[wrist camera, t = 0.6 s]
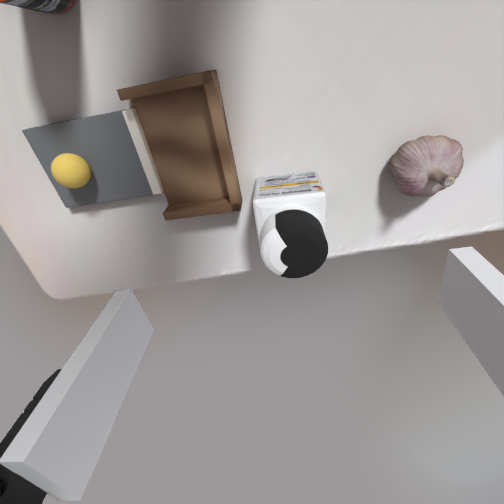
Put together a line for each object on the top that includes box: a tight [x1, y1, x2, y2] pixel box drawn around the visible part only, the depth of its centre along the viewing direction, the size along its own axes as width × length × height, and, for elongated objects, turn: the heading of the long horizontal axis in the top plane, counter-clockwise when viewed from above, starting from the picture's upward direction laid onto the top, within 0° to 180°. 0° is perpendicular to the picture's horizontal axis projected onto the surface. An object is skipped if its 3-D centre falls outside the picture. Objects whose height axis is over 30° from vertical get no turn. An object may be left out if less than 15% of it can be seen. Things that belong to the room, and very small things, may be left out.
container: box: [253, 171, 328, 278], centre depth 32 cm, size 8×8×13 cm
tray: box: [117, 70, 242, 220], centre depth 33 cm, size 15×10×3 cm, turn 10°
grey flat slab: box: [22, 108, 164, 208], centre depth 36 cm, size 10×14×1 cm
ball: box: [51, 153, 91, 188], centre depth 34 cm, size 4×4×4 cm
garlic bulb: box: [389, 136, 464, 197], centre depth 31 cm, size 8×7×8 cm
